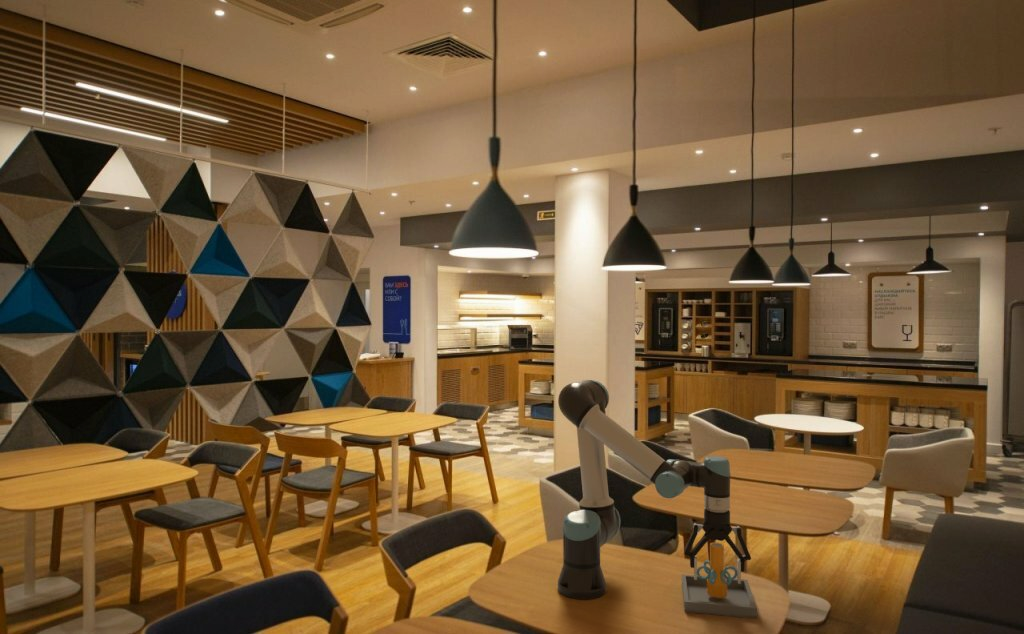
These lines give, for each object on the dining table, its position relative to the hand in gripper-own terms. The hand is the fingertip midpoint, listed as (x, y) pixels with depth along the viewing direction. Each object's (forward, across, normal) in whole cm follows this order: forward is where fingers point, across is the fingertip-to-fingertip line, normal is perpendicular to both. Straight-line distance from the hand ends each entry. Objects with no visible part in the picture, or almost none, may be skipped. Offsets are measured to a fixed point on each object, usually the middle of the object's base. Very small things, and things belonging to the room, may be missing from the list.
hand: (716, 580), depth 194 cm
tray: (+6, 0, 0) cm, 6 cm away
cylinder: (+5, 0, 0) cm, 5 cm away
